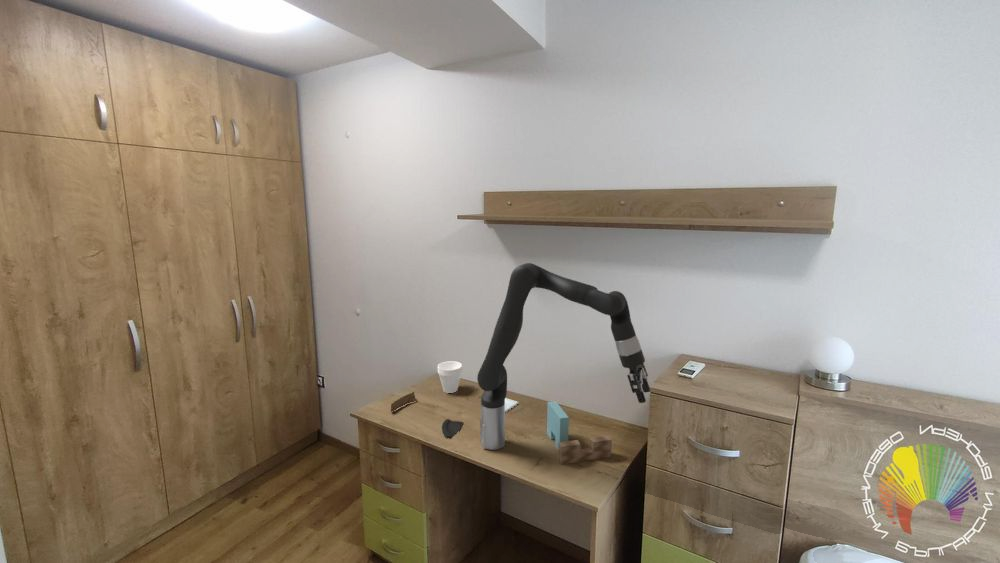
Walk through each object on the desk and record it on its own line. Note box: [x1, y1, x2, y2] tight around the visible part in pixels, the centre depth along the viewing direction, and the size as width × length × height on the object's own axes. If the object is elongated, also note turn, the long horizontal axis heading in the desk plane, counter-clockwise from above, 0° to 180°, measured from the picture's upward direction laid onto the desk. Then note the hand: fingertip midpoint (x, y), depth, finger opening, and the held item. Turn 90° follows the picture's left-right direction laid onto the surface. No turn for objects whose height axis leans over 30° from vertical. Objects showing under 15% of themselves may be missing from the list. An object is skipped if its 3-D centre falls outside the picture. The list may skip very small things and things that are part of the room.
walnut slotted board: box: [557, 435, 613, 465], centre depth 165 cm, size 20×3×7 cm, turn 104°
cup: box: [437, 360, 463, 394], centre depth 223 cm, size 12×12×14 cm
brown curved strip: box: [390, 391, 418, 413], centre depth 207 cm, size 15×2×5 cm, turn 147°
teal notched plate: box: [546, 400, 570, 450], centre depth 176 cm, size 14×4×14 cm, turn 14°
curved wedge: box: [441, 418, 464, 439], centre depth 187 cm, size 8×14×2 cm, turn 169°
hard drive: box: [505, 397, 519, 413], centre depth 207 cm, size 2×8×12 cm
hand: (644, 396), depth 146 cm, fingers open, 8 cm apart
